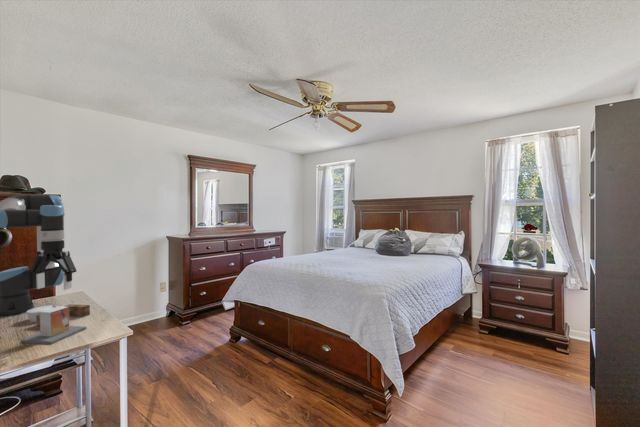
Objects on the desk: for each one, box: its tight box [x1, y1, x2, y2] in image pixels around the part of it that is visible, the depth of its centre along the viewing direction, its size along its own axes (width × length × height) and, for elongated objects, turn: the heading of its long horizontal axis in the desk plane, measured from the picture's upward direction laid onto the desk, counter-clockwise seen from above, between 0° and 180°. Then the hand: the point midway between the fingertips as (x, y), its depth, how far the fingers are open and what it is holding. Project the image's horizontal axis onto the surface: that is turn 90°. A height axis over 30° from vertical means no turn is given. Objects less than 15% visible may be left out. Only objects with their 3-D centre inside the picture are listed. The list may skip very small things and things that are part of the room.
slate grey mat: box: [20, 325, 87, 345], centre depth 127 cm, size 15×15×1 cm
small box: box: [39, 305, 70, 337], centre depth 127 cm, size 8×6×10 cm
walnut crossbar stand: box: [36, 303, 91, 327], centre depth 145 cm, size 12×16×5 cm
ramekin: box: [25, 304, 58, 323], centre depth 147 cm, size 11×11×5 cm
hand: (54, 288), depth 127 cm, fingers open, 13 cm apart
